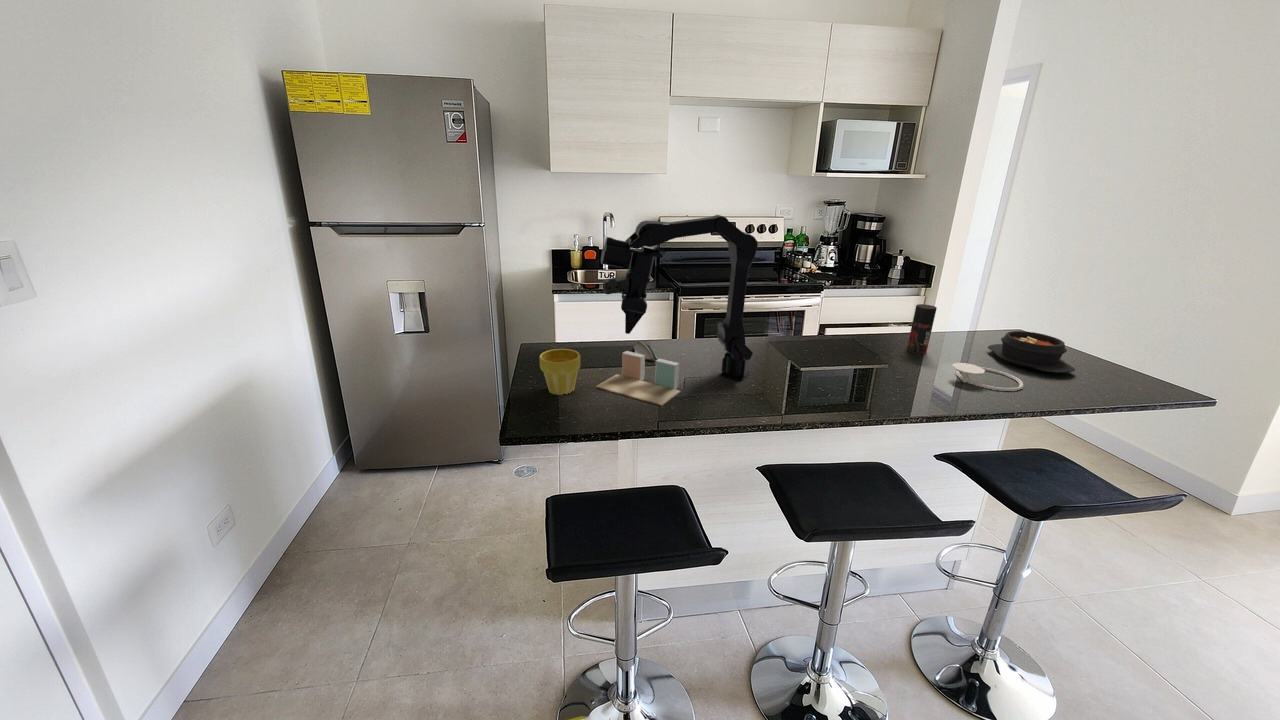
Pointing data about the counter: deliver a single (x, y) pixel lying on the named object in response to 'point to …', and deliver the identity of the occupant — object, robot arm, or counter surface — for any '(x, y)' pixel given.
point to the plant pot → (560, 369)
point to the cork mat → (638, 389)
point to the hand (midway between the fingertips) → (627, 328)
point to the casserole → (1033, 351)
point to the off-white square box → (667, 373)
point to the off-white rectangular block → (633, 365)
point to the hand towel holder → (976, 370)
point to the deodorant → (921, 328)
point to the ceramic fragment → (643, 350)
